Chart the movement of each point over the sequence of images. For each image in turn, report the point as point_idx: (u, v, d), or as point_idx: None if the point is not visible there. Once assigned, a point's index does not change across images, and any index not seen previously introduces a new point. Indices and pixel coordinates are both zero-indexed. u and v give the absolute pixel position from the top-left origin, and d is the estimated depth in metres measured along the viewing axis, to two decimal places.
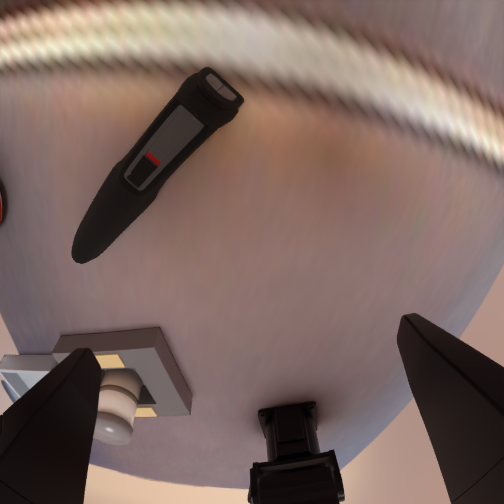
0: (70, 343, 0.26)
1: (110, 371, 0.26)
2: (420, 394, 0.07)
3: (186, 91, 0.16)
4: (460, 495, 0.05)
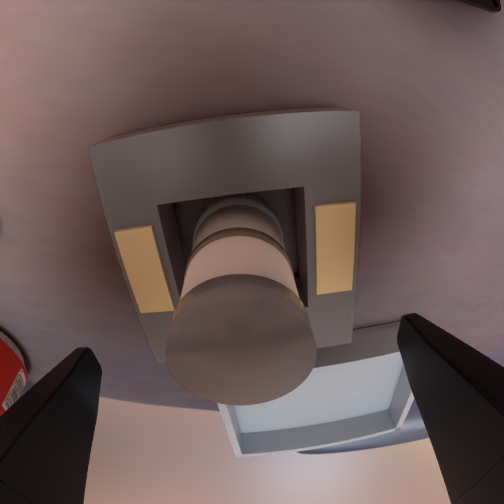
0: None
1: None
2: (420, 394, 0.07)
3: None
4: (460, 495, 0.05)
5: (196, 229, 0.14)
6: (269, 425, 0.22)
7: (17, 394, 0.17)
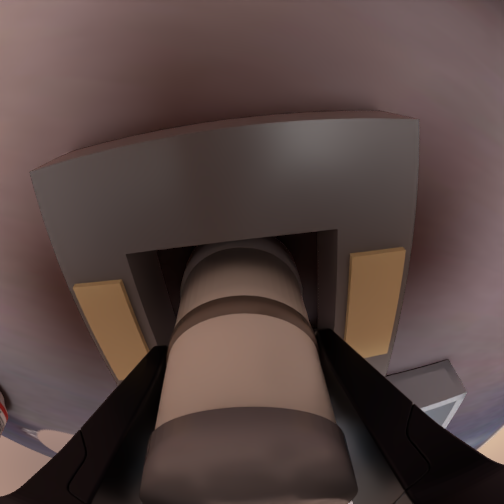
0: None
1: None
2: None
3: None
4: None
5: (184, 279, 0.10)
6: None
7: None
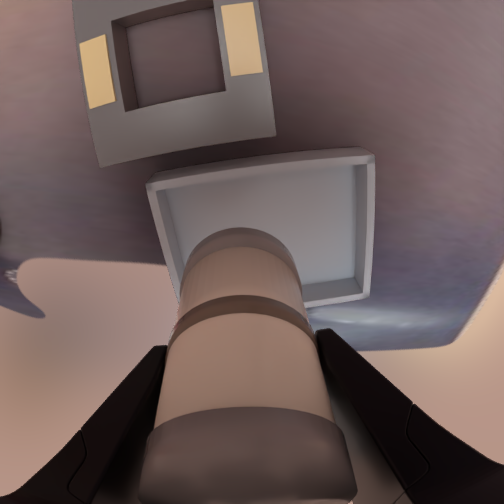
0: None
1: None
2: None
3: None
4: None
5: (183, 278, 0.10)
6: None
7: None
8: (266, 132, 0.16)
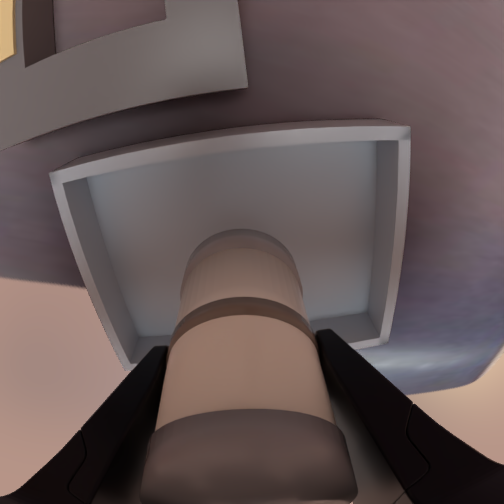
0: None
1: None
2: None
3: None
4: None
5: (184, 280, 0.10)
6: (175, 322, 0.16)
7: None
8: (230, 80, 0.09)
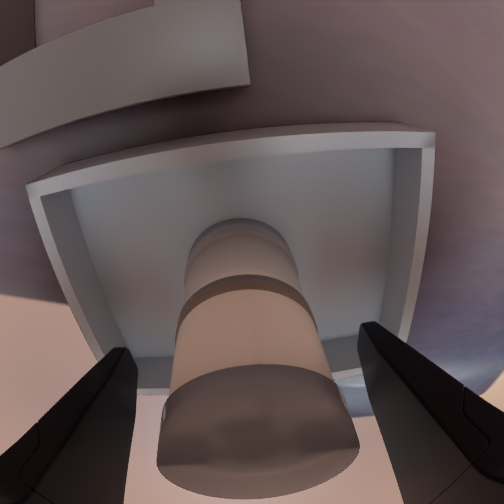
0: None
1: None
2: (377, 405, 0.07)
3: None
4: None
5: (188, 266, 0.11)
6: (170, 343, 0.14)
7: None
8: (229, 76, 0.07)
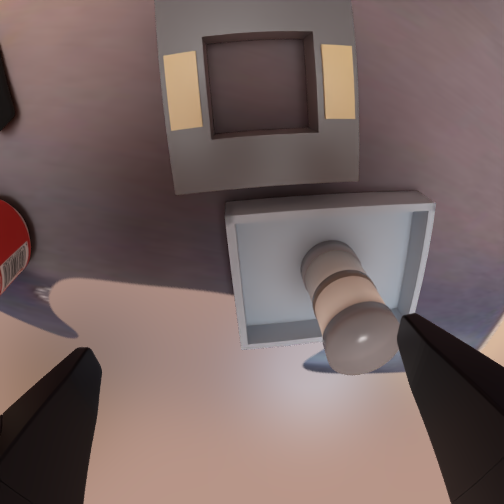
0: None
1: (308, 290, 0.20)
2: (420, 394, 0.07)
3: None
4: (460, 495, 0.05)
5: (308, 264, 0.20)
6: (276, 314, 0.23)
7: (17, 267, 0.18)
8: (350, 177, 0.17)
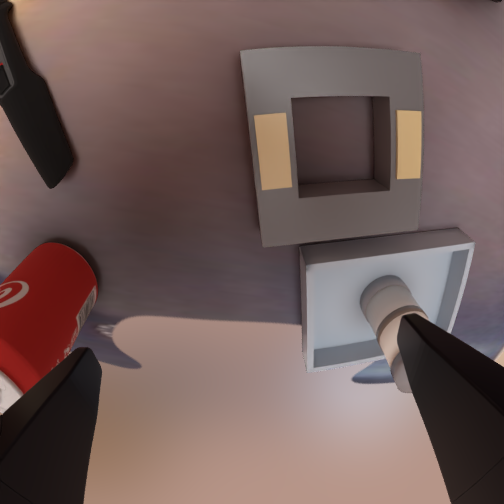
0: None
1: (369, 320, 0.22)
2: (420, 394, 0.07)
3: None
4: (460, 495, 0.05)
5: (370, 299, 0.22)
6: (336, 339, 0.25)
7: (88, 312, 0.20)
8: (412, 227, 0.19)
